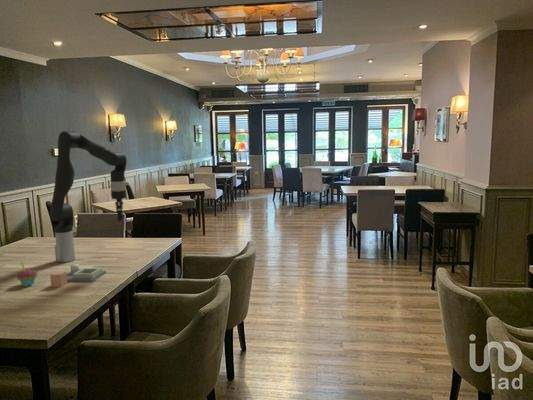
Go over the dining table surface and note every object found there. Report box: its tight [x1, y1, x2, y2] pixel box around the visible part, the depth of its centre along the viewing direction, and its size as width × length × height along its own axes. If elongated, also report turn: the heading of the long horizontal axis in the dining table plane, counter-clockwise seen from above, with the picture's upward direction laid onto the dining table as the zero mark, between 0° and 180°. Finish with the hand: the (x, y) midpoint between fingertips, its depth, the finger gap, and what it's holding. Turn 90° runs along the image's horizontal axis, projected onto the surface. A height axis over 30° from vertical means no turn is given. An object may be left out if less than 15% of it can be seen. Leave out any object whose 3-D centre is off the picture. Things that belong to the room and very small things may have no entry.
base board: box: [67, 263, 107, 283], centre depth 201 cm, size 18×14×5 cm
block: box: [49, 270, 68, 288], centre depth 190 cm, size 5×5×6 cm
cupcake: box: [16, 261, 39, 287], centre depth 191 cm, size 9×8×12 cm
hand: (120, 219), depth 217 cm, fingers open, 8 cm apart
